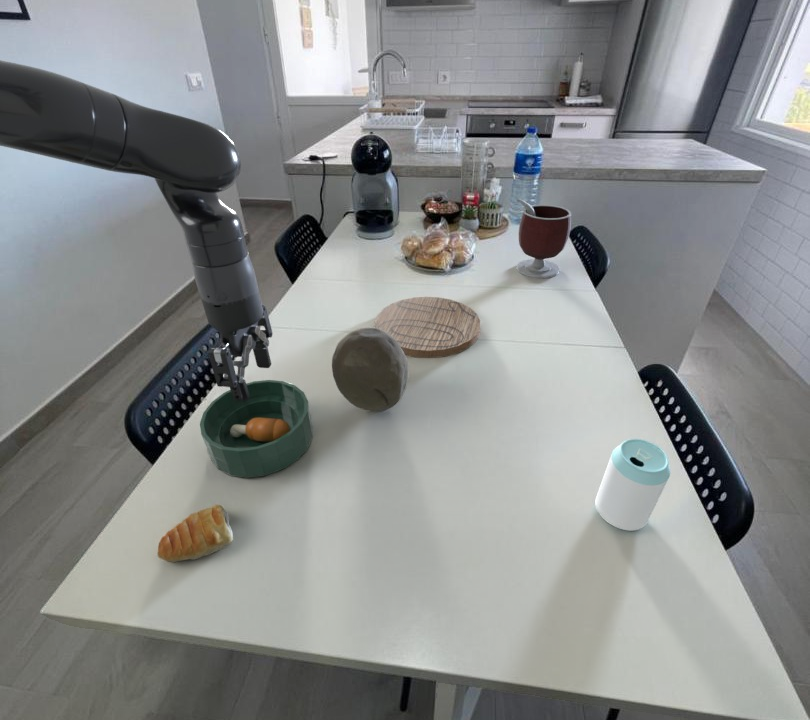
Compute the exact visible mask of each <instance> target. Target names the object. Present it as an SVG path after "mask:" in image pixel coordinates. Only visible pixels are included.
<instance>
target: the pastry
mask: <svg viewBox="0 0 810 720" xmlns="http://www.w3.org/2000/svg"><path fill="white" fill-rule="evenodd" d="M229 521H230V516H229V513H228V511H227V510H226V508H225V507H223V505H221V504H215V505H214V506H210V507H207V508H203V509H201V510H199V511H197V512H193V513H191V514H190V515H189V516H187V517H186V518H185V519H183V520H182V521H181V522H180V523H178V524H177V525H175V526H173V527H172V528H171V529H170V530H168V531H167V532H166V533H165V534H164V535H163V536H162V537H161V539H160V540H159V543H158V548H157V557H158V558H159V559H161V560H164V562H165V561H166V562H168V563H173V562H174V563H176V562H182V561H187V560H198V559H200V558H203V557H206V556H208V555H211V554H212V553H215V552H218V551H221V550H223V549H225V548H227V547H228V546H229V545H230V544H231V543H232V542H233V540H234V536H233V535H234V534H233V533H234V532H233V530H232V528H231V525H230V524H229Z"/></svg>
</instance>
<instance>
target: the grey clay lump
mask: <svg viewBox="0 0 810 720" xmlns="http://www.w3.org/2000/svg"><path fill="white" fill-rule="evenodd" d="M408 363H409V362H408V358H407V355H405V354H404V352H403V350H402V348H401V347H400V345H399V343H398V342H397V341H396V339H395V338H394V337H392V336H391V335H390V334H389V333H387V332H385V331H384V330H381V329H378V328H375V327H361V328H357V329H354V330H353V331H350V332H348V333H347V334H346V335H345V336H344V337H343V338H342V339H340V341H339V342H338V343H337V345H336V346H335V348H334V352H333V354H332V358H331V371H332V377H333V380H334V382H335V383H334V384H335V386H336V388H337V389H338V391H339V392H340V394H341V395H342V397H344V398H345V399H346V400H347V401H348V402H349V404H351V405H353V406H355V408H358V409H360V410H363V411H367V412H373V413H378V412H379V413H380V412H384V411H387V410H389V409H390V408H393V407H394V406H396V405H397V404H398V403H399V402H400V401H401V399H402V398H403V396H404V393H405V391H406V389H407V385H408V381H409V364H408Z"/></svg>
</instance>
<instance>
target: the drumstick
mask: <svg viewBox="0 0 810 720" xmlns="http://www.w3.org/2000/svg"><path fill="white" fill-rule="evenodd" d="M289 431H290V427H289V425H288V423H287V422H286V421H284V420H282V419H273V418H260V417H257V418H253V419H251V420H250V421H249V422H248V423H247V425H238V424H235V425H233V426H232V427H231V429H230V434H231V436H233V437H235V438H238V437H240V436H242V434H244V435H247V436H248V438H250V439H251V440H254V441H262V442H272V441H275V440H276V439H278V438H280V437H282V436H283V435H285V434H287V433H288V432H289Z"/></svg>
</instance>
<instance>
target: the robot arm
mask: <svg viewBox="0 0 810 720" xmlns="http://www.w3.org/2000/svg"><path fill="white" fill-rule="evenodd" d="M0 146H1V147H4V148H9V149H13V150H18V151H22V152H27V153H30V154H31V153H32V154H36V155H40V156H44V157H48V158H52V159H56V160H61V161H65V162H69V163H72V164H78V165H83V166H87V167H92V168H96V169H99V170H104V171H108V172H113V173H121V174H127V175H128V174H129V175H138V176H144V177H149V178H153V179H154V181H155V183H156V186H157V187H158V189H159V191H160V192H161V195H162V196H163V198H164V200H165V202H166V204H167V205H168V208H169V209H170V212H171V213H172V214H173V216H174V219H176V221H177V223H178V224H179V226H180V228H181V231H182V233H183V234H182V235H183V237H184V241H185V244H186V248H187V251H188V255H189V257H190V260H191V265H192V269H193V276H194V281H195V284H196V287H197V290H198V294H199V297H200V300H201V304H202V306H203V310H204V314H205V316H206V319H207V322H208V324H209V325H210V326H211V328H213V329H215V330H216V331H217V332H218V333H219V338H220V341H219V343H220V345H219V346H218V347H210V348H208V353H207V354H208V358H209V361H210V364H211V368H212V372H213V376H214V379H215V382H216V386H217V387H221V388H223V387H224V388H229V390H231V393H232V395H233V399H234V400H235V401H239V402H247V401H248V400H249V398H250V396H249V392H248V388H247V385H246V383H247V381H246V379H245V373H246V368H247V367H249V364H250V354H251V351H253V355H254V359H255V365H256V366H257V368H259V369H269V368H270V367H271V366H272V361H271V355H270V351H269V346H270V340H269V338H272V337H273V333H274V332H273V329H272V325H271V322H270V317H269V313H268V309H267V306H266V304H263V303H262V297H261V294H260V290H259V285H258V280H257V277H256V272H255V267H254V265H253V262H252V260H251V257H250V254H249V250H248V246H247V241H246V237H245V232H244V228H243V225H242V222H241V219H240V216H239V215H238V214H237V212H236V211H235V210H233V209H231V208H230V207H228V206H227V205H226V204H225V203H223V202H222V200H221V199H220V197H219V196H218V193H221V192H224V191H226V190H229V189H230V188H231V187H232V186H233V185H234V184H235V183H236V182H237V180H238V178H239V176H240V174H241V167H242V163H241V158H240V154H239V151H238V148H237V147H236V145H235V144H234V142H233V140H231V139H230V138H229V136H228V135H227V134H226V133H224V132H223V131H222V130H220V129H219V128H217V127H216V126H213V125H210V124H208V123H205V122H202V121H200V120H195V119H193V118H190V117H186V116H181V115H177V114H174V113H170V112H167V111H163V110H159V109H154V108H150V107H147V106H145V105H141V104H138V103H135V102H133V101H130V100H129V99H126V98H124V97H122V96H119V95H117V94H114V93H112V92H109V91H107V90H104V89H101V88H98V87H96V86H93V85H90V84H88V83H84V82H83V81H79V80H78V79H77V80H76V79H73V78H71V77H68V76H65V75H62V74H60V73H56V72H54V71H49V70H46V69H42V68H39V67H34V66H30V65H26V64H20V63H16V62H11V61H6V60H2V59H1V60H0ZM261 327H264V329H261ZM234 357H238V358H241V359H240V360H233V359H234ZM235 367H237V372H236V369H235Z"/></svg>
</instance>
